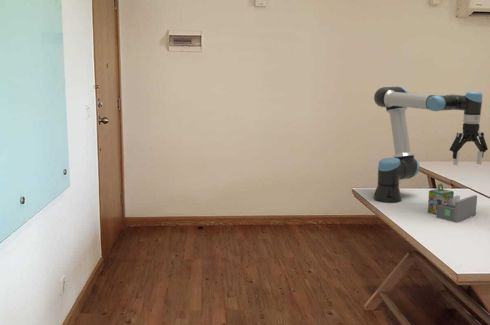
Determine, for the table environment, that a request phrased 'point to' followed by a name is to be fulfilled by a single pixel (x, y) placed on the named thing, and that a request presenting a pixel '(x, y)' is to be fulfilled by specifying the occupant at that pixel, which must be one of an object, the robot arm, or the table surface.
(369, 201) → the table surface
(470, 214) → the stand
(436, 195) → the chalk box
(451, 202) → the paddle
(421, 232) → the table surface
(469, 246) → the table surface
